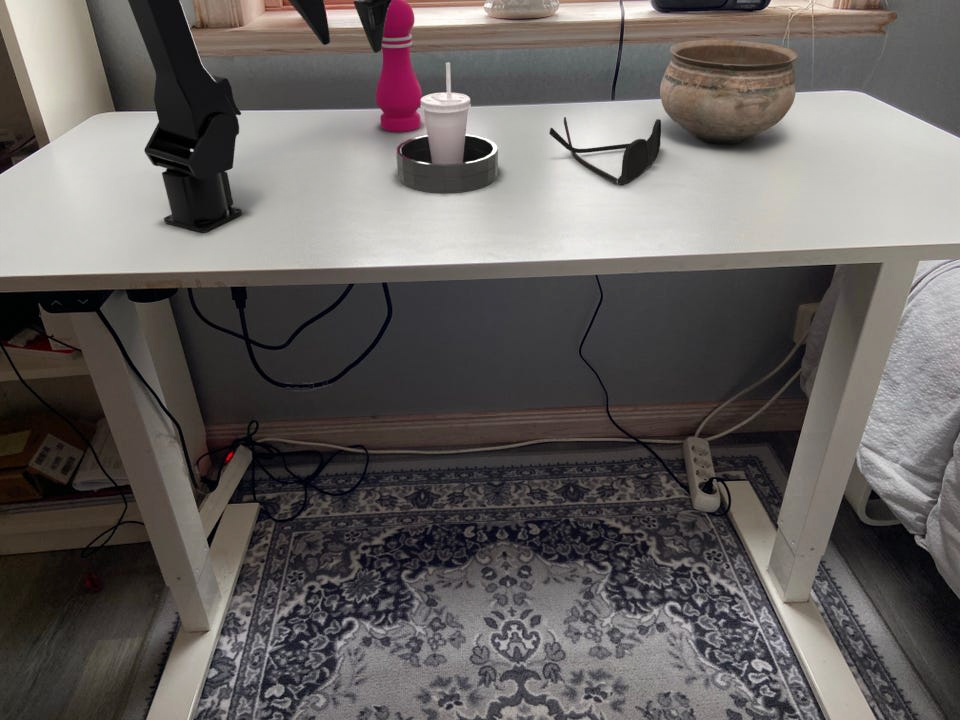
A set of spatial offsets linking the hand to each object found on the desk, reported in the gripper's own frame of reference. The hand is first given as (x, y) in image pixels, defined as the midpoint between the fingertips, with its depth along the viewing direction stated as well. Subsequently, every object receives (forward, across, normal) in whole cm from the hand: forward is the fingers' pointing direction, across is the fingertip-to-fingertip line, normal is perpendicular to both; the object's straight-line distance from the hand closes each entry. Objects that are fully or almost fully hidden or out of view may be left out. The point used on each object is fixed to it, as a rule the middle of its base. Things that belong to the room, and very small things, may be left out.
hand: (351, 47), depth 98 cm
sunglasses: (+18, -28, -16) cm, 37 cm away
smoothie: (+15, -14, +1) cm, 21 cm away
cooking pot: (+21, -38, -35) cm, 55 cm away
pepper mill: (+17, +6, -12) cm, 22 cm away
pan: (+15, -14, +1) cm, 21 cm away
